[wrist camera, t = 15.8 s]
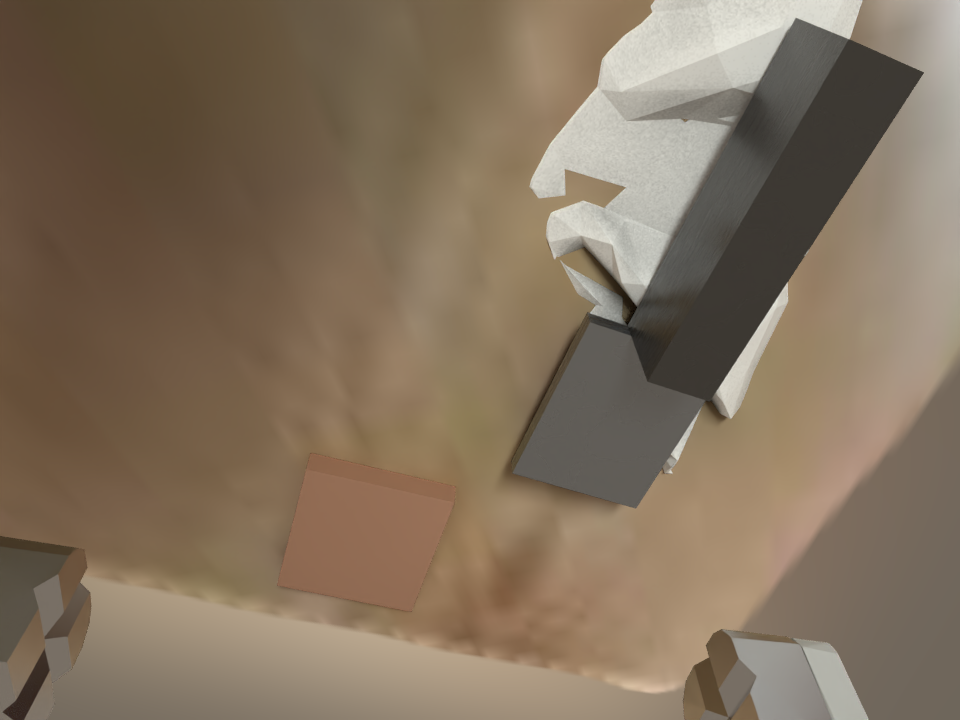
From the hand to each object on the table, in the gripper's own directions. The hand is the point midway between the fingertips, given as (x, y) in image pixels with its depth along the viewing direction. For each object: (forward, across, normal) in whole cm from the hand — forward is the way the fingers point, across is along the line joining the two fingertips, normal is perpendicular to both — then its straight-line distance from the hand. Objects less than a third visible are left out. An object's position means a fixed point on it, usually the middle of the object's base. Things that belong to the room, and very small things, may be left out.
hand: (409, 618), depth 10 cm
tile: (+20, 0, +16) cm, 26 cm away
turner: (+20, -10, +3) cm, 22 cm away
